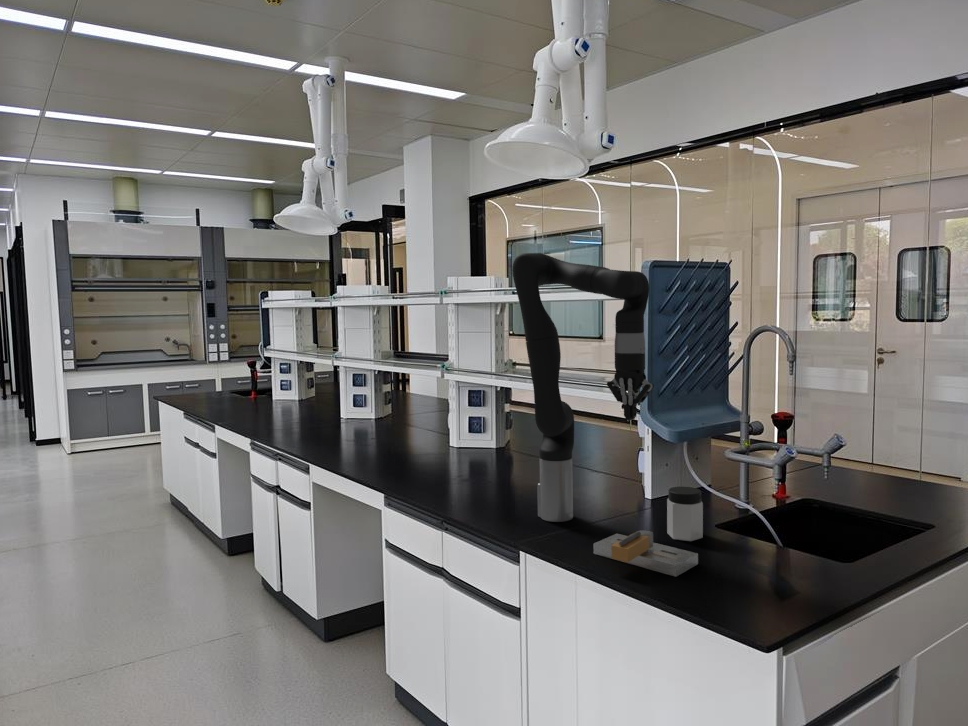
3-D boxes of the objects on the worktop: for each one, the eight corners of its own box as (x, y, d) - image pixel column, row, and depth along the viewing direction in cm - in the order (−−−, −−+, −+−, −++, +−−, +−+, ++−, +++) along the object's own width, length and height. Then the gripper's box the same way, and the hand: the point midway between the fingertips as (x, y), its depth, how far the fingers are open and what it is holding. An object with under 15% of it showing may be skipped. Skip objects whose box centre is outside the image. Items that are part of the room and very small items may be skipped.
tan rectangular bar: (640, 541, 164) (640, 524, 164) (655, 544, 162) (655, 527, 161) (611, 558, 154) (611, 540, 153) (627, 562, 151) (627, 543, 151)
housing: (593, 553, 166) (593, 542, 166) (616, 543, 173) (616, 532, 173) (675, 576, 150) (675, 564, 150) (698, 564, 158) (697, 552, 157)
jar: (707, 541, 173) (707, 494, 172) (675, 542, 173) (675, 495, 172) (694, 529, 182) (694, 485, 181) (663, 531, 182) (663, 486, 181)
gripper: (599, 351, 174) (599, 418, 176) (644, 352, 165) (645, 424, 166) (616, 349, 180) (616, 415, 181) (661, 350, 170) (661, 420, 172)
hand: (630, 419), depth 174 cm, fingers closed
